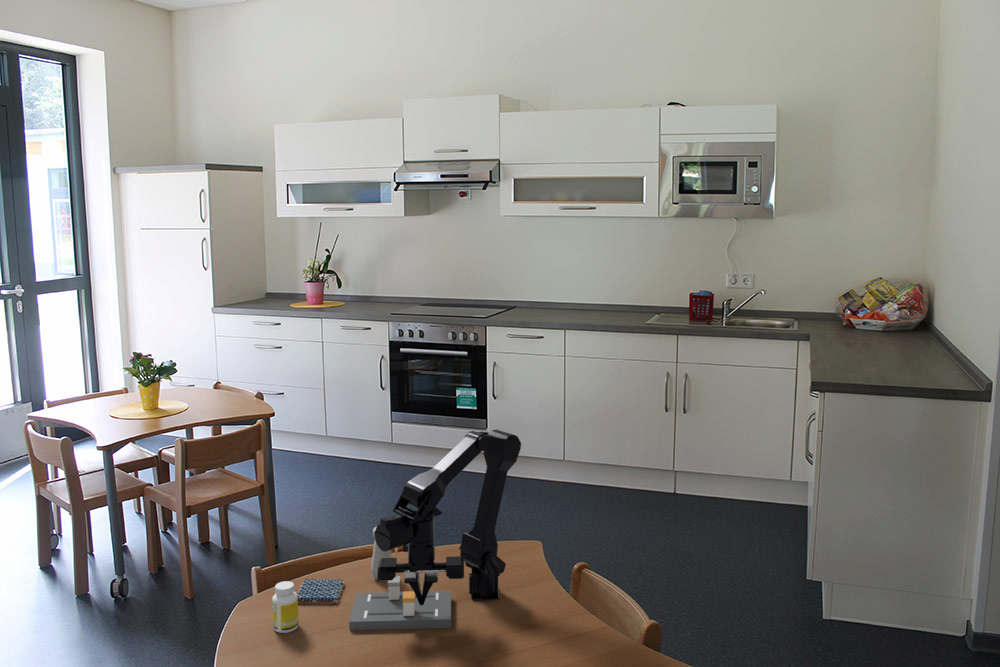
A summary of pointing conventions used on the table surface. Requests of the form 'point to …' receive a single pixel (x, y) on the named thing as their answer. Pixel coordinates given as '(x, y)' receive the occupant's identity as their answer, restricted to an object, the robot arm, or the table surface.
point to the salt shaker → (378, 557)
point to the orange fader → (408, 603)
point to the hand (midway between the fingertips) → (421, 604)
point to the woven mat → (320, 591)
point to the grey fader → (394, 588)
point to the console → (400, 612)
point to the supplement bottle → (285, 608)
